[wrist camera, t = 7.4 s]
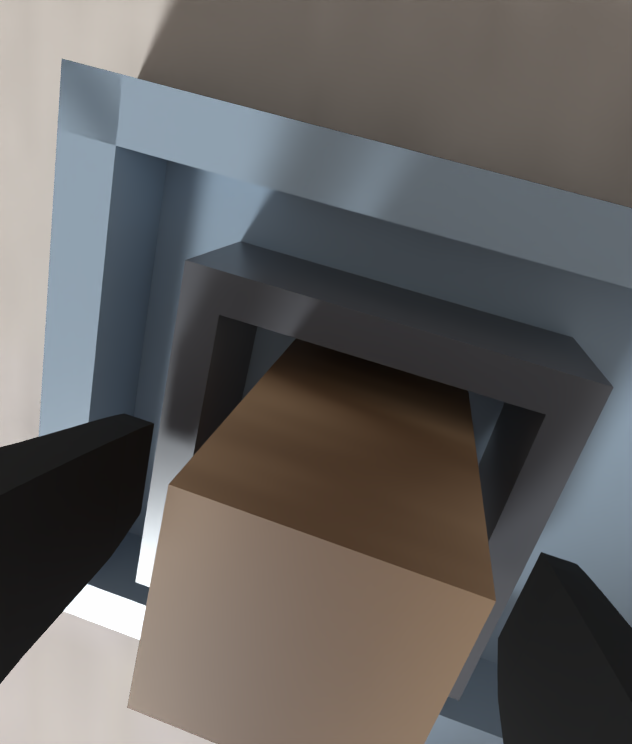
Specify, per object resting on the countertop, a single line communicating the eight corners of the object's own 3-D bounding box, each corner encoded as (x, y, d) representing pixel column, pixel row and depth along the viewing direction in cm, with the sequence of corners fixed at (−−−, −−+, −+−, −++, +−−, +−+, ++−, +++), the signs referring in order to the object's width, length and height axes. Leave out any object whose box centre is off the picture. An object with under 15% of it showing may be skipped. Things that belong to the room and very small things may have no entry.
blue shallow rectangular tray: (86, 538, 17) (7, 620, 14) (134, 81, 12) (31, 49, 9) (752, 779, 15) (833, 938, 12) (1126, 341, 10) (1427, 414, 7)
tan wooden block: (265, 471, 15) (127, 707, 8) (301, 331, 13) (168, 484, 7) (412, 522, 14) (389, 814, 8) (467, 383, 13) (496, 601, 6)
